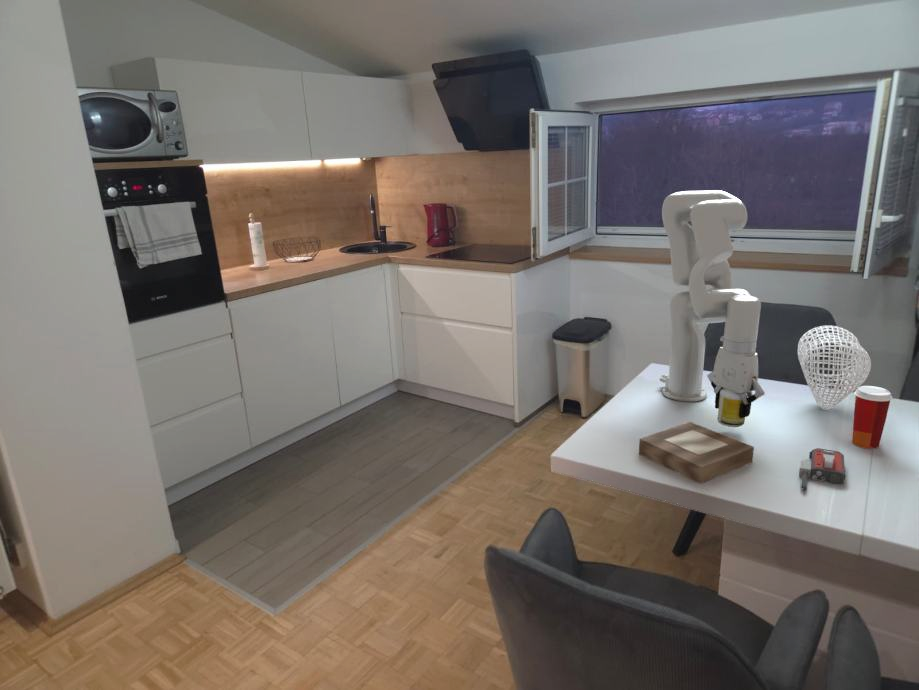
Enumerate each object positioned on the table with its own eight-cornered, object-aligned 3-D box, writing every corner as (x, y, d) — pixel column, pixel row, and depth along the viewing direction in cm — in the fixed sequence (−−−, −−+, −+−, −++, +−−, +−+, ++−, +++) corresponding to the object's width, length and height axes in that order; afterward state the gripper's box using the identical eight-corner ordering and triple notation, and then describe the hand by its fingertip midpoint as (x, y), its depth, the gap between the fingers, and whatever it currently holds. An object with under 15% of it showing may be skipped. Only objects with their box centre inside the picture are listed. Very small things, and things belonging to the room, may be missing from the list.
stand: (638, 453, 153) (639, 437, 152) (689, 436, 162) (690, 421, 161) (700, 483, 138) (701, 466, 137) (752, 462, 147) (754, 446, 146)
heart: (789, 390, 192) (797, 318, 186) (848, 395, 186) (859, 322, 180) (798, 424, 167) (809, 344, 161) (867, 432, 161) (880, 348, 155)
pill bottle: (746, 429, 159) (752, 386, 156) (719, 427, 161) (724, 384, 157) (741, 418, 165) (746, 376, 162) (714, 416, 167) (719, 375, 163)
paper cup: (877, 439, 157) (886, 386, 153) (888, 452, 150) (898, 397, 146) (842, 436, 159) (850, 384, 155) (851, 449, 152) (860, 394, 148)
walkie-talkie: (800, 455, 151) (797, 493, 134) (802, 438, 150) (799, 474, 133) (843, 462, 147) (845, 502, 130) (845, 445, 145) (848, 483, 129)
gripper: (700, 339, 162) (694, 404, 167) (761, 357, 148) (752, 427, 153) (719, 334, 165) (712, 398, 171) (781, 351, 151) (771, 420, 157)
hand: (731, 411), depth 162 cm, fingers closed on pill bottle, 6 cm apart
